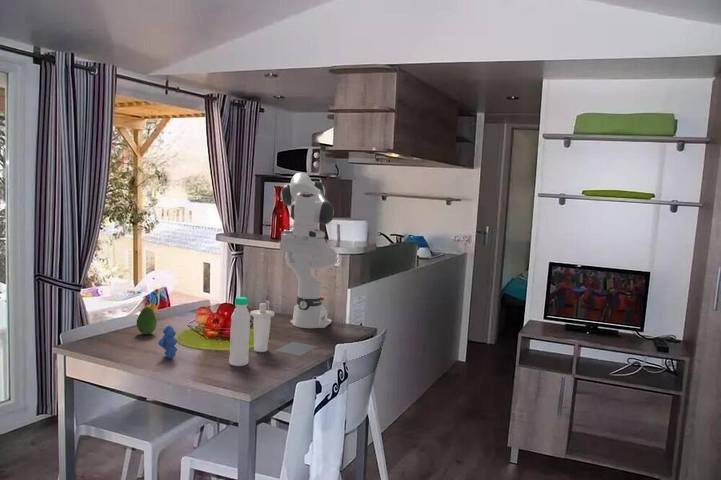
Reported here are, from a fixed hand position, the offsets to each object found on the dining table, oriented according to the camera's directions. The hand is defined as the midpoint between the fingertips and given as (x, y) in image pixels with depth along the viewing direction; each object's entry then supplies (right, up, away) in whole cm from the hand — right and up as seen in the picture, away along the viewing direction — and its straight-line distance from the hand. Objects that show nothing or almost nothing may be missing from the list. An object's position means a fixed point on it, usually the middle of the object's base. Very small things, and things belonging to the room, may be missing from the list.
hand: (301, 264), depth 228 cm
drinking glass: (-16, -35, -7) cm, 39 cm away
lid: (-15, -20, -8) cm, 26 cm away
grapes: (-48, -34, -22) cm, 63 cm away
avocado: (-68, -30, +7) cm, 74 cm away
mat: (-2, -35, -1) cm, 35 cm away
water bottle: (-21, -36, -24) cm, 48 cm away
